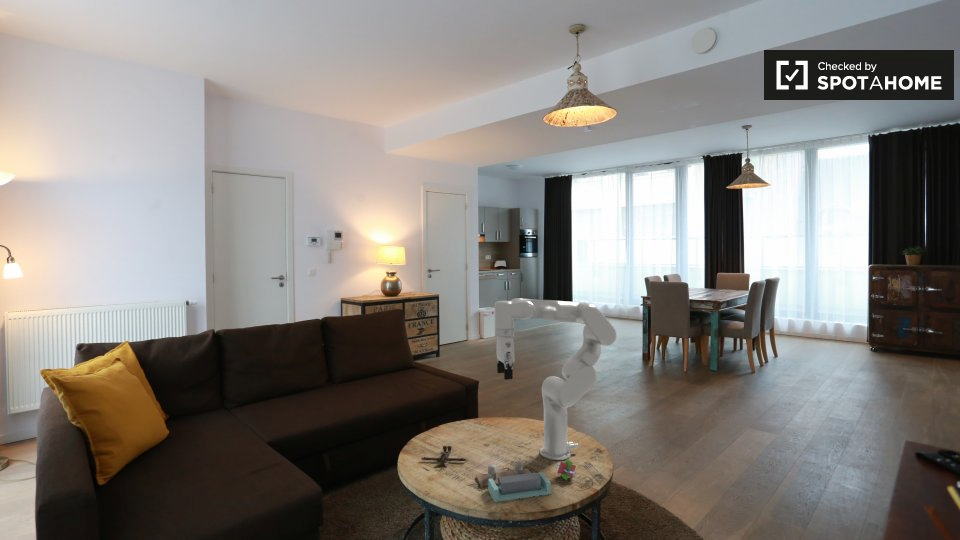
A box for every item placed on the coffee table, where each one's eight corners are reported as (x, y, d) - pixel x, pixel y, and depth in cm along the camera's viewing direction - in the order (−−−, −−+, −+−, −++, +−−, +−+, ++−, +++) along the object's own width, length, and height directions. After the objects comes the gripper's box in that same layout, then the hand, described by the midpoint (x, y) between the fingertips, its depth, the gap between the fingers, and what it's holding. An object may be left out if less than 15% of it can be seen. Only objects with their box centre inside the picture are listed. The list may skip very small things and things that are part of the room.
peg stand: (527, 471, 178) (527, 456, 178) (535, 481, 170) (535, 466, 170) (476, 477, 173) (476, 462, 173) (481, 488, 166) (481, 472, 165)
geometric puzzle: (574, 465, 177) (562, 451, 176) (584, 473, 171) (572, 458, 169) (560, 479, 176) (549, 465, 174) (570, 488, 169) (558, 473, 167)
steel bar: (536, 483, 166) (536, 472, 166) (540, 489, 162) (540, 478, 162) (497, 488, 163) (497, 477, 163) (501, 495, 159) (501, 483, 159)
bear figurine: (468, 445, 196) (465, 457, 181) (468, 455, 195) (465, 468, 181) (425, 444, 197) (418, 456, 182) (425, 454, 197) (418, 467, 182)
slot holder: (542, 483, 169) (542, 472, 169) (550, 494, 161) (550, 482, 161) (488, 490, 164) (488, 478, 164) (494, 502, 156) (494, 490, 156)
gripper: (520, 335, 176) (520, 381, 177) (507, 328, 193) (507, 369, 194) (501, 336, 174) (501, 382, 175) (489, 329, 191) (489, 371, 192)
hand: (504, 375), depth 184 cm, fingers open, 9 cm apart
